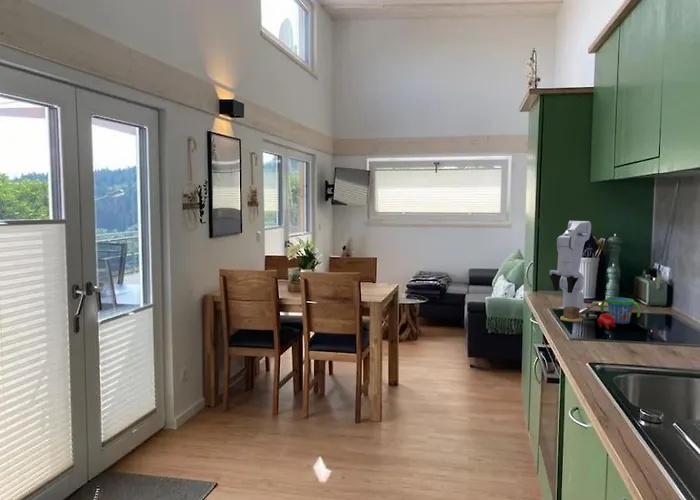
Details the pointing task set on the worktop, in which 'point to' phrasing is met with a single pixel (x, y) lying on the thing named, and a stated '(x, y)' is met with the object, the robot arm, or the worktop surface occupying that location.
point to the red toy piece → (606, 320)
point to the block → (571, 312)
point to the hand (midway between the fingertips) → (562, 291)
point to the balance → (586, 315)
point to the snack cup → (620, 309)
